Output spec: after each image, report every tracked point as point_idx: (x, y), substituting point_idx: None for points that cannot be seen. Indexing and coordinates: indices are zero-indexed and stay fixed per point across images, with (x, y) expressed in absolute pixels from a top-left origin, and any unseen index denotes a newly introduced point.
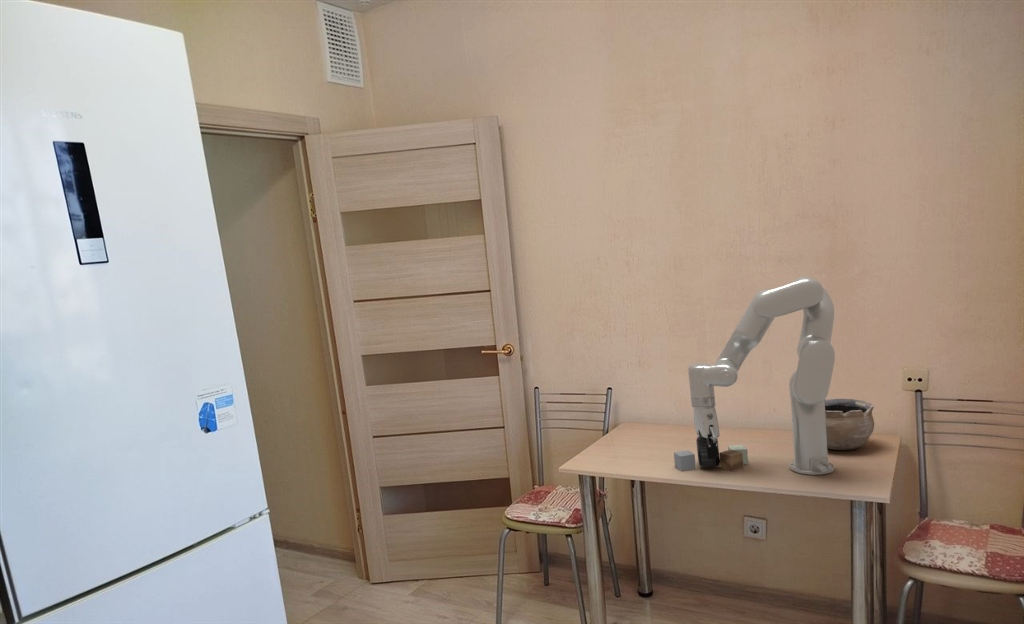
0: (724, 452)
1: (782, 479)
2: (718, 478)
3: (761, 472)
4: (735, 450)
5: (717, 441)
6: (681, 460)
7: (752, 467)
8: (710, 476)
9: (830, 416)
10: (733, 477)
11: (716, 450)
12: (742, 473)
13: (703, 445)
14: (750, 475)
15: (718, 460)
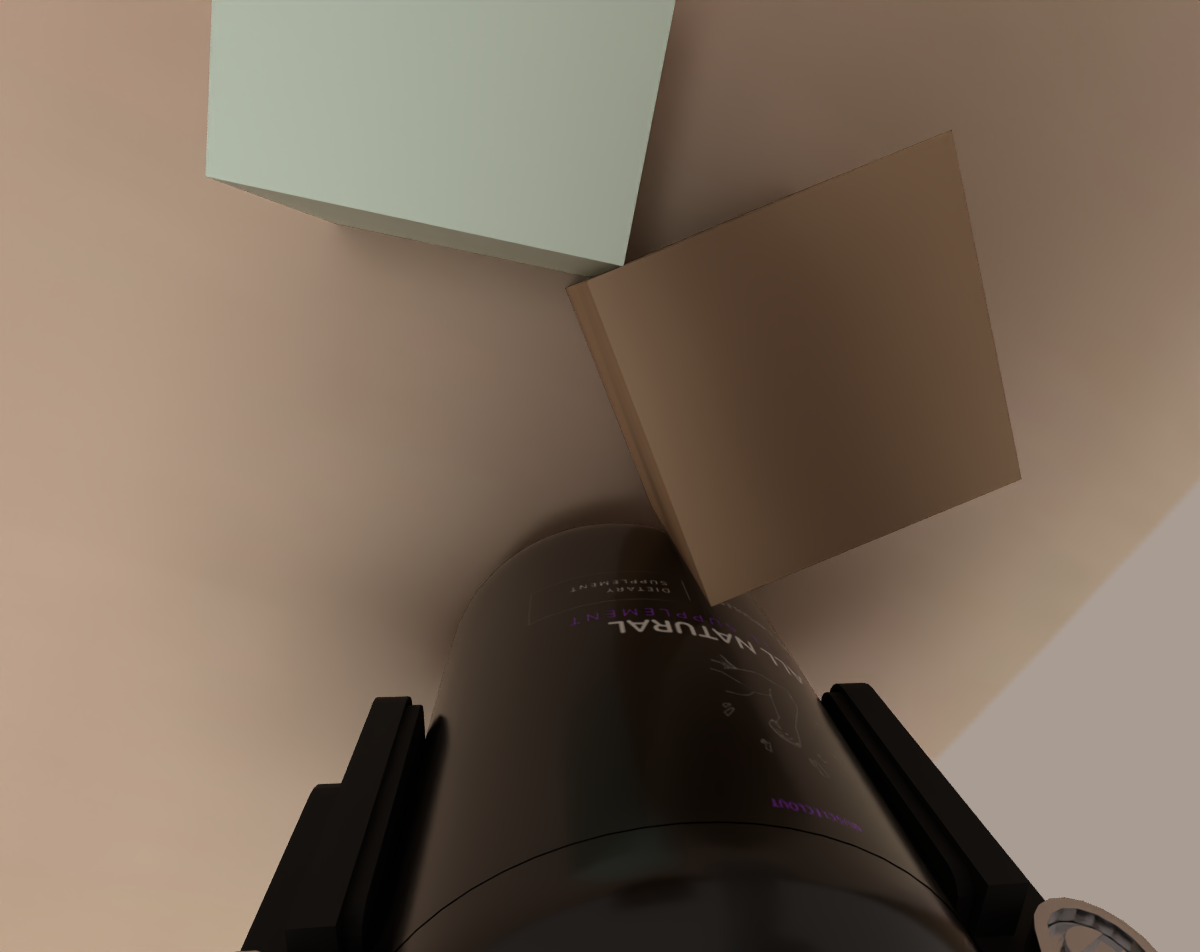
0: (750, 510)
1: None
2: (1001, 666)
3: (1102, 32)
4: (640, 169)
5: (909, 873)
6: None
7: (837, 33)
8: (899, 721)
9: None
10: (1063, 500)
11: (941, 796)
12: (996, 326)
13: None
14: (1118, 262)
15: (755, 605)
